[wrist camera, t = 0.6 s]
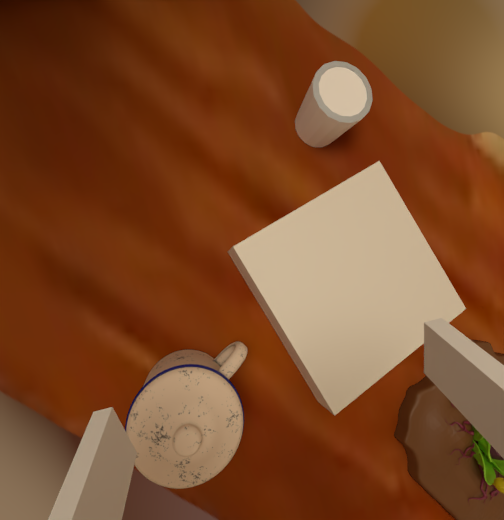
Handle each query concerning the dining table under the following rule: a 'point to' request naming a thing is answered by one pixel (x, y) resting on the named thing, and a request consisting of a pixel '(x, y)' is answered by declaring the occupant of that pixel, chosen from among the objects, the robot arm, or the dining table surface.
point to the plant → (451, 453)
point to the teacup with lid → (187, 417)
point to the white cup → (333, 103)
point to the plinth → (347, 285)
